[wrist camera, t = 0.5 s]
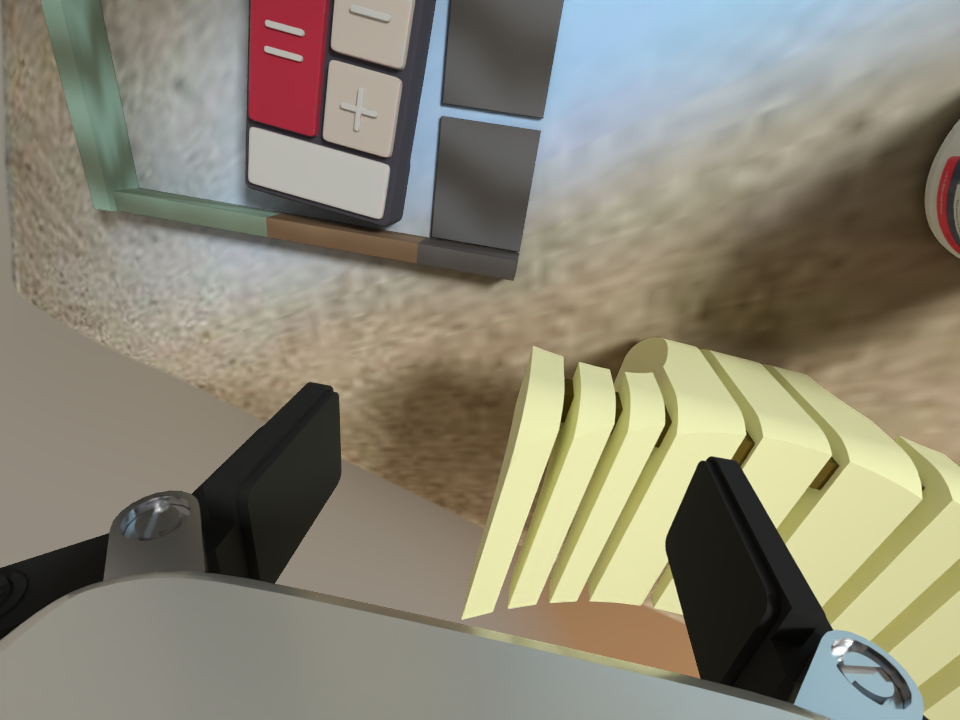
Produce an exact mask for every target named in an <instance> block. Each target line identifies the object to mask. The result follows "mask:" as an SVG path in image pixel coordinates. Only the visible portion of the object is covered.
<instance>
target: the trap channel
mask: <svg viewBox="0 0 960 720" xmlns="http://www.w3.org/2000/svg"><path fill="white" fill-rule="evenodd" d="M40 1H41V4H42V8H43V12H44V16H45V20H46V24H47V28H48V32H49V35H50V39H51V43H52V47H53V51H54V55H55V59H56V63H57V66H58V70H59V74H60V78H61V82H62V86H63V90H64V94H65V97H66V101H67V105H68V109H69V113H70V117H71V121H72V124H73V128H74V132H75V136H76V140H77V144H78V148H79V152H80V155H81V159H82V163H83V167H84V171H85V175H86V179H87V183H88V186H89V190H90V194H91V198H92V202H93V206H94V208H95V209H100V210H106V211H111V212H112V211H122V212H128V213H133V214H139V215H145V216H150V217H156V218H162V219H167V220H173V221H179V222H184V223H190V224H196V225H201V226H207V227H213V228H218V229H224V230H230V231H235V232H241V233H247V234H252V235H258V236H264V237H269V238H275V239H281V240H286V241H292V242H297V243H303V244H309V245H314V246H320V247H326V248H331V249H337V250H343V251H348V252H354V253H360V254H365V255H371V256H377V257H382V258H388V259H394V260H399V261H405V262H411V263H416V264H422V265H428V266H433V267H439V268H445V269H450V270H456V271H462V272H467V273H473V274H479V275H484V276H490V277H496V278H501V279H507V280H514V277H515V273H516V269H517V263H518V257H519V253H515V252H509V251H503V250H497V249H491V248H486V247H480V246H474V245H468V244H462V243H456V242H451V241H445V240H439V239H433V238H427V237H422V236H416V235H410V234H404V233H398V232H392V231H387V230H381V229H375V228H369V227H363V226H358V225H352V224H346V223H340V222H334V221H329V220H323V219H317V218H311V217H305V216H299V215H294V214H288V213H282V212H276V211H270V210H265V209H259V208H253V207H247V206H241V205H235V204H230V203H224V202H218V201H212V200H206V199H201V198H195V197H189V196H183V195H177V194H172V193H166V192H160V191H154V190H148V189H142V188H139V186H138V181H137V177H136V172H135V167H134V162H133V158H132V153H131V148H130V143H129V138H128V134H127V129H126V124H125V119H124V115H123V110H122V105H121V100H120V95H119V91H118V86H117V81H116V76H115V72H114V67H113V62H112V57H111V52H110V48H109V43H108V38H107V33H106V28H105V24H104V19H103V14H102V9H101V5H100V0H40ZM563 2H564V0H451V10H450V22H449V34H448V46H447V59H446V71H445V83H444V95H443V103H446V104H453V105H460V106H466V107H473V108H480V109H487V110H493V111H500V112H507V113H513V114H520V115H527V116H534V117H540V118H543V115H544V110H545V104H546V98H547V93H548V87H549V81H550V76H551V70H552V64H553V59H554V53H555V47H556V42H557V36H558V30H559V25H560V19H561V13H562V8H563ZM540 132H541V131H538V130H532V129H525V128H519V127H512V126H505V125H499V124H492V123H485V122H479V121H472V120H466V119H459V118H452V117H446V116H442V119H441V131H440V143H439V155H438V167H437V179H436V191H435V203H434V215H433V227H432V237H437V238H443V239H449V240H455V241H460V242H466V243H472V244H478V245H484V246H490V247H495V248H501V249H507V250H513V251H520V246H521V240H522V234H523V229H524V223H525V217H526V212H527V206H528V200H529V195H530V189H531V183H532V178H533V172H534V166H535V161H536V155H537V149H538V144H539V138H540Z"/></svg>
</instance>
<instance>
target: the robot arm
mask: <svg viewBox="0 0 960 720" xmlns="http://www.w3.org/2000/svg"><path fill="white" fill-rule="evenodd" d="M340 477H341V443H340V411H339V395H338V393H337V392H333V388H332V387H331V386H329V385H323V384H318V383H312V382H309V383H307V384H306V385H305V386H304V387H303V388H302V389H301V390H300V391H299V392H298V393H297V394H296V395H295V396H294V397H293V398H292V399H291V400H290V401H289V402H288V403H287V404H286V405H285V406H284V407H282V408H281V409H280V410H279V411H278V412H277V413H276V414H275V415H274V416H273V417H272V418H271V419H270V420H269V421H268V422H267V423H266V424H265V425H264V426H262V427H261V428H259V429H258V430H257V431H256V432H255V433H254V434H253V435H252V436H251V437H250V438H249V439H248V440H247V441H246V442H245V443H244V444H243V445H242V446H241V447H240V448H239V449H238V450H237V451H236V452H235V453H233V455H231V456H230V457H229V459H227V460H226V461H225V462H224V463H223V464H222V465H221V466H220V467H219V468H218V469H217V470H216V471H215V472H214V473H213V474H212V475H211V476H210V477H209V478H208V479H207V480H206V481H205V482H204V483H202V485H201V486H199V487H198V489H196V490H195V491H194V492H193V493H192V494H190V493H186V492H183V491H166V492H159V493H155V494H152V495H149V496H146V497H144V498H142V499H140V500H138V501H136V502H134V503H132V504H130V505H129V506H128V507H126V508H125V509H124V510H122V511H121V512H120V513H119V515H118V516H117V517H116V518H115V519H114V521H113V523H112V525H111V528H110V532H109V533H108V534H105V535H102V536H99V537H96V538H93V539H89V540H86V541H84V542H80V543H77V544H74V545H71V546H68V547H65V548H61V549H58V550H55V551H52V552H49V553H46V554H43V555H40V556H36V557H33V558H30V559H27V560H24V561H21V562H18V563H15V564H12V565H8V566H6V567H2V568H0V720H929V719H928V718H927V717H925V716H924V715H923V712H924V706H923V698H922V696H921V693H920V691H919V689H918V687H917V685H916V683H915V682H914V681H913V679H912V678H911V677H910V675H909V674H908V673H907V671H906V670H905V669H904V668H903V667H902V666H901V665H900V664H899V663H898V662H897V661H896V660H895V659H894V658H893V657H892V656H891V655H889V654H888V653H887V652H885V651H884V650H883V649H882V648H880V647H879V646H878V645H876V644H874V643H873V642H871V641H869V640H867V639H866V638H864V637H862V636H859V635H857V634H854V633H851V632H849V631H842V630H833V628H832V627H831V625H830V623H829V621H828V620H827V618H826V614H825V612H824V610H823V609H822V607H821V605H820V604H819V602H818V600H817V598H816V597H815V595H814V593H813V591H812V590H811V588H810V586H809V585H808V583H807V581H806V579H805V578H804V576H803V574H802V572H801V571H800V569H799V567H798V565H797V564H796V562H795V560H794V559H793V557H792V555H791V553H790V552H789V550H788V548H787V546H786V545H785V543H784V541H783V539H782V538H781V536H780V534H779V533H778V531H777V529H776V527H775V526H774V524H773V522H772V520H771V519H770V517H769V515H768V514H767V512H766V510H765V508H764V507H763V505H762V503H761V501H760V500H759V498H758V496H757V494H756V493H755V491H754V489H753V488H752V486H751V484H750V482H749V481H748V479H747V477H746V475H745V474H744V472H743V470H742V468H741V467H740V465H739V464H738V462H737V461H735V460H730V459H724V458H719V457H714V456H711V457H709V458H707V460H706V461H703V460H702V461H700V462H699V463H698V465H697V467H696V470H695V472H694V474H693V477H692V479H691V481H690V483H689V486H688V488H687V490H686V493H685V495H684V497H683V499H682V502H681V504H680V506H679V509H678V511H677V513H676V515H675V518H674V520H673V522H672V525H671V527H670V529H669V531H668V534H667V536H666V541H665V550H666V554H667V558H668V561H669V565H670V569H671V572H672V576H673V580H674V583H675V587H676V590H677V594H678V598H679V601H680V605H681V609H682V612H683V616H684V620H685V623H686V627H687V631H688V634H689V638H690V641H691V645H692V649H693V652H694V656H695V660H696V663H697V667H698V671H699V674H700V678H701V679H698V678H695V677H691V676H687V675H683V674H678V673H675V672H670V671H666V670H662V669H657V668H653V667H649V666H645V665H640V664H635V663H631V662H627V661H623V660H618V659H614V658H610V657H605V656H600V655H597V654H592V653H588V652H583V651H579V650H575V649H571V648H566V647H562V646H558V645H553V644H548V643H544V642H540V641H535V640H531V639H526V638H522V637H518V636H513V635H509V634H504V633H500V632H495V631H491V630H486V629H482V628H477V627H473V626H468V625H464V624H460V623H455V622H450V621H446V620H441V619H437V618H432V617H428V616H423V615H419V614H414V613H410V612H405V611H401V610H396V609H392V608H387V607H382V606H378V605H373V604H368V603H364V602H359V601H355V600H350V599H346V598H341V597H337V596H332V595H327V594H323V593H318V592H313V591H309V590H303V589H298V588H293V587H288V586H283V585H278V584H275V582H276V581H277V579H278V578H279V576H280V574H281V573H282V571H283V570H284V568H285V567H286V565H287V563H288V562H289V560H290V559H291V557H292V555H293V554H294V552H295V551H296V549H297V548H298V546H299V544H300V543H301V541H302V539H303V538H304V537H305V535H306V533H307V532H308V530H309V529H310V527H311V526H312V524H313V522H314V521H315V519H316V518H317V516H318V514H319V513H320V511H321V510H322V508H323V507H324V505H325V503H326V502H327V500H328V499H329V497H330V496H331V494H332V492H333V491H334V489H335V488H336V486H337V484H338V482H339V480H340Z"/></svg>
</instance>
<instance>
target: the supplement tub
mask: <svg viewBox="0 0 960 720" xmlns="http://www.w3.org/2000/svg"><path fill="white" fill-rule="evenodd" d="M925 212H926V217H927V221H928V224H929V226H930V229H931V231H932V232H933V234H934V236H935V237H936V238H937V240H938V241H939V242H940V243H941V244H942V245H943V246H944V247H945V248H946V249H947V250H948V251H949V252H951V253H952V254H953V255H955V256H956V257H958V258H959V259H960V119H959V121H958V122H957V123H956V124H955V126H954V127H953V128H952V129H951V131H950V132H949V134H948V135H947V137H946V138H945V140H944V142H943V143H942V145H941V147H940V148H939V150H938V152H937V154H936V156H935V159H934V161H933V163H932V166H931V169H930V172H929V175H928V178H927V183H926V189H925Z"/></svg>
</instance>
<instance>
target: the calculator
mask: <svg viewBox="0 0 960 720" xmlns="http://www.w3.org/2000/svg"><path fill="white" fill-rule="evenodd" d="M435 4H436V0H249V37H248V83H247V130H246V184H247V186H248V187H249V188H251V189H255V190H258V191H261V192H265V193H268V194H272V195H275V196H279V197H282V198H286V199H290V200H293V201H297V202H300V203H304V204H307V205H311V206H314V207H318V208H321V209H325V210H328V211H332V212H335V213H339V214H342V215H346V216H349V217H353V218H356V219H360V220H363V221H367V222H370V223H374V224H377V225H381V226H387V225H389V224H392V223H395V222H397V221H400V220H401V219H402V215H403V210H404V203H405V197H406V190H407V184H408V177H409V171H410V158H411V152H412V146H413V140H414V134H415V128H416V122H417V116H418V110H419V104H420V98H421V92H422V86H423V80H424V74H425V68H426V61H427V55H428V49H429V42H430V36H431V30H432V23H433V17H434V10H435Z"/></svg>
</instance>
